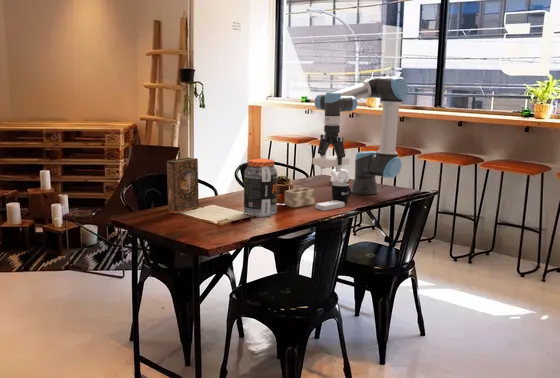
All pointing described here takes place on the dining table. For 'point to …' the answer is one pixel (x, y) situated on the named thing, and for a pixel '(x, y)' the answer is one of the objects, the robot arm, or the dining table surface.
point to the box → (299, 197)
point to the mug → (340, 192)
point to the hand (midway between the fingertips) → (330, 170)
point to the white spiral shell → (339, 176)
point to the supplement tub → (260, 188)
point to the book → (182, 183)
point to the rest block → (329, 205)
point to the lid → (329, 161)
